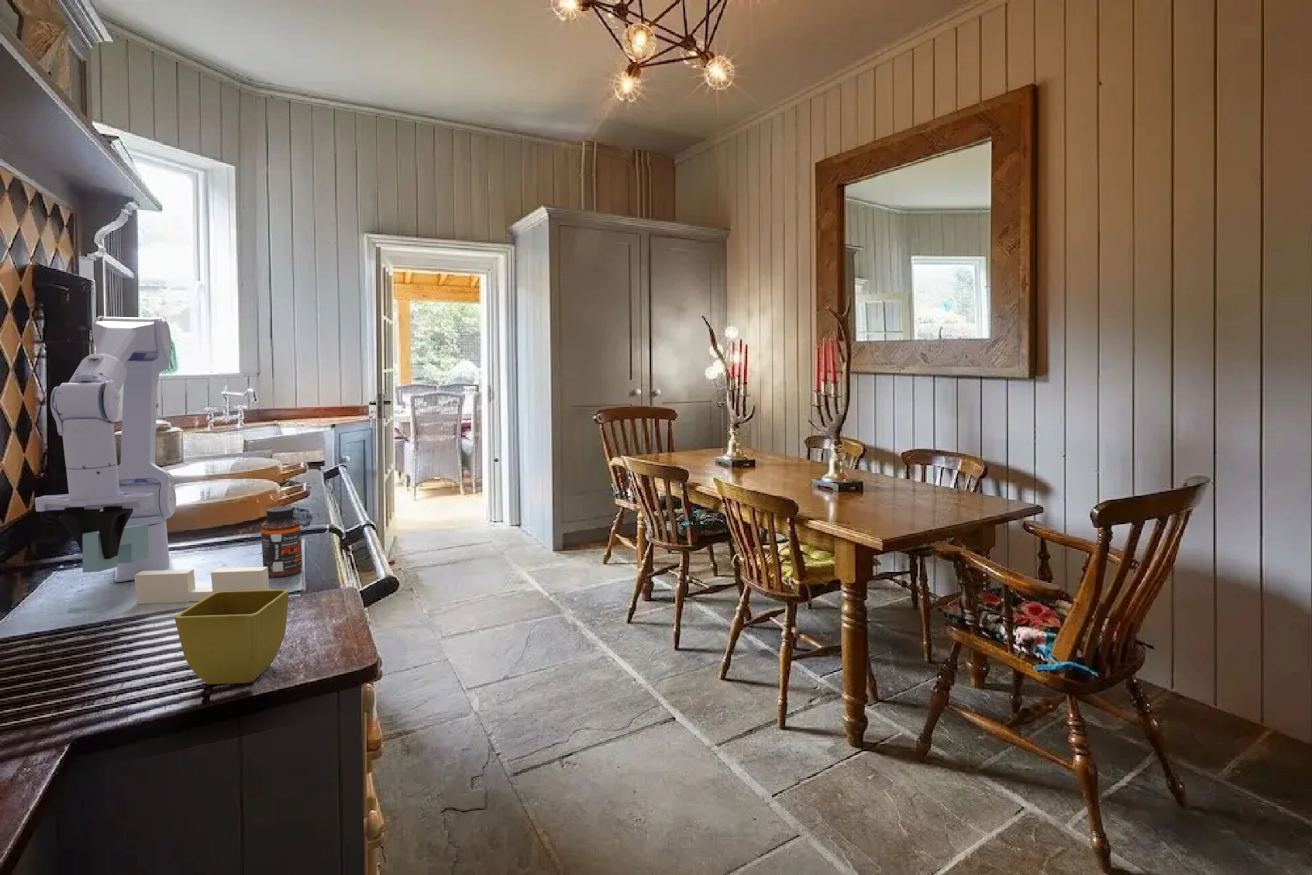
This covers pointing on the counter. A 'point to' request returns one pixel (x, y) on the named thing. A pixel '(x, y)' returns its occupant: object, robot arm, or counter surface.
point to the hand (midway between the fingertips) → (101, 557)
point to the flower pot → (233, 634)
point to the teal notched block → (129, 551)
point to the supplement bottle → (281, 542)
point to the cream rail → (182, 584)
